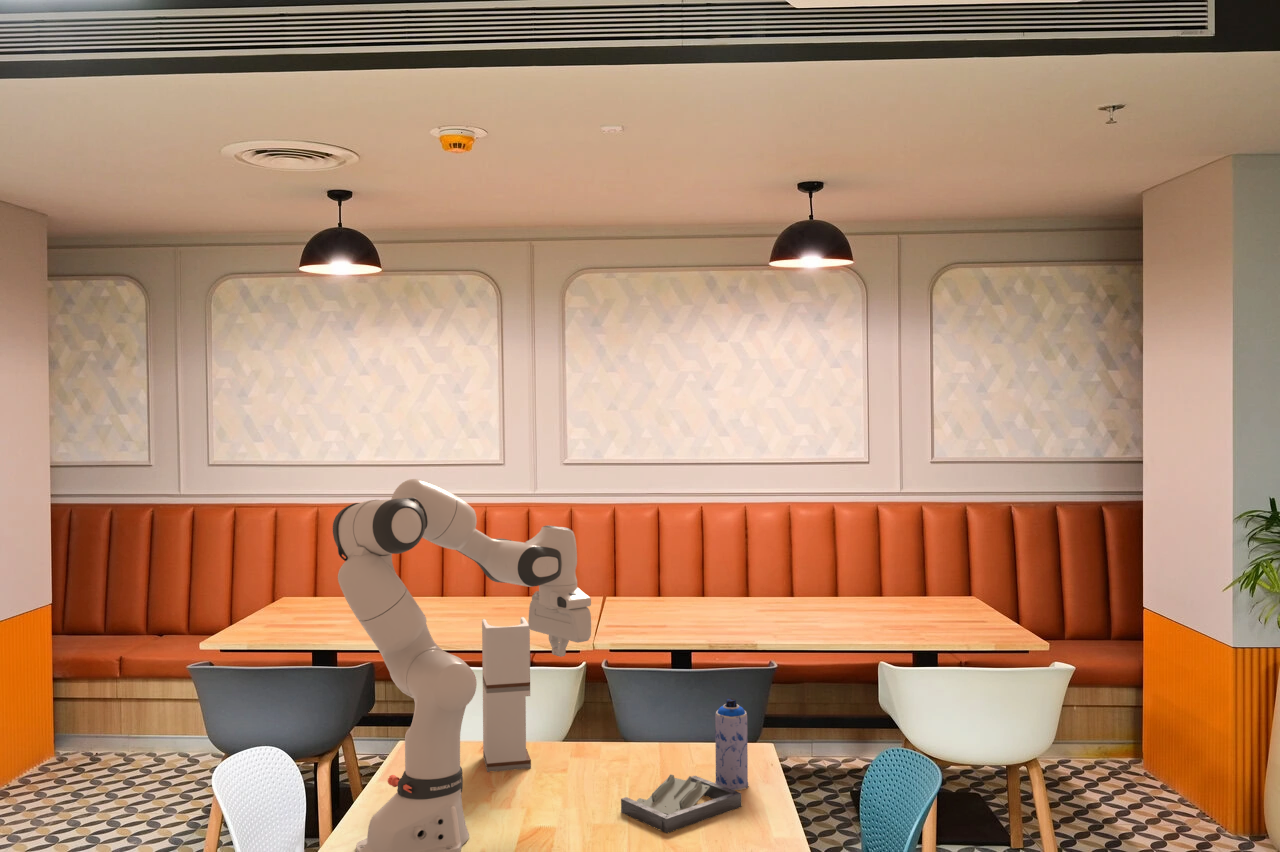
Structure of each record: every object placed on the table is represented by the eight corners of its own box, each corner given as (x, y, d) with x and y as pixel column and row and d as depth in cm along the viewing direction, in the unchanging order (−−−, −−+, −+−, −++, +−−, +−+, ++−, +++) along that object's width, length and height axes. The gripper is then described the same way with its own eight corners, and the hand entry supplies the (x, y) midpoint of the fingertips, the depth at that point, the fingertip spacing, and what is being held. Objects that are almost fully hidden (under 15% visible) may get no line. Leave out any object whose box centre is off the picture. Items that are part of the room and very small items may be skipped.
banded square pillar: (530, 768, 256) (529, 625, 256) (487, 772, 254) (485, 628, 254) (525, 753, 268) (524, 617, 267) (483, 757, 265) (482, 619, 265)
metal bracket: (662, 766, 241) (718, 778, 233) (666, 787, 243) (722, 801, 234) (627, 802, 230) (685, 816, 221) (632, 824, 231) (689, 840, 223)
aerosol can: (755, 785, 243) (755, 699, 243) (731, 793, 238) (731, 706, 238) (731, 776, 250) (731, 693, 249) (707, 784, 245) (707, 699, 244)
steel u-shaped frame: (666, 833, 216) (666, 818, 216) (621, 812, 228) (621, 798, 228) (741, 806, 230) (741, 793, 230) (695, 788, 242) (695, 775, 242)
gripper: (521, 591, 247) (522, 649, 247) (573, 603, 231) (573, 665, 232) (543, 588, 251) (544, 645, 251) (595, 599, 236) (596, 660, 236)
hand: (558, 655), depth 241 cm, fingers closed
